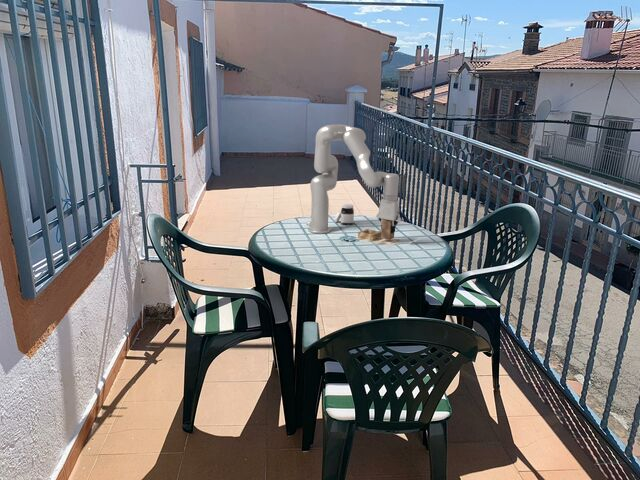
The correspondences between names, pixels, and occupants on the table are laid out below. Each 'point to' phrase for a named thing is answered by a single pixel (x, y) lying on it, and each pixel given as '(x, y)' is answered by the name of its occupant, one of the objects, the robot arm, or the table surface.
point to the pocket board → (375, 237)
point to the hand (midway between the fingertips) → (387, 231)
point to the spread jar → (346, 215)
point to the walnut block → (386, 230)
